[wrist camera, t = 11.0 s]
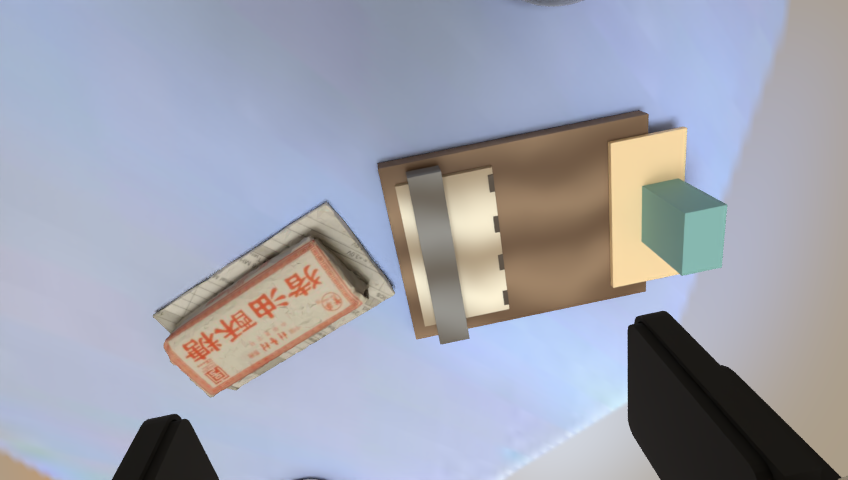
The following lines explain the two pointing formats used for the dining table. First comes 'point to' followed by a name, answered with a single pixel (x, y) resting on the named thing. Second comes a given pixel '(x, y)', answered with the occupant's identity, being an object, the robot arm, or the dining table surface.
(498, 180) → the ticket board
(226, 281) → the packaged product
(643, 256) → the teal block on plate
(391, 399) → the dining table surface
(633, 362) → the robot arm
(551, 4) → the brown egg-shaped diffuser
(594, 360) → the dining table surface
